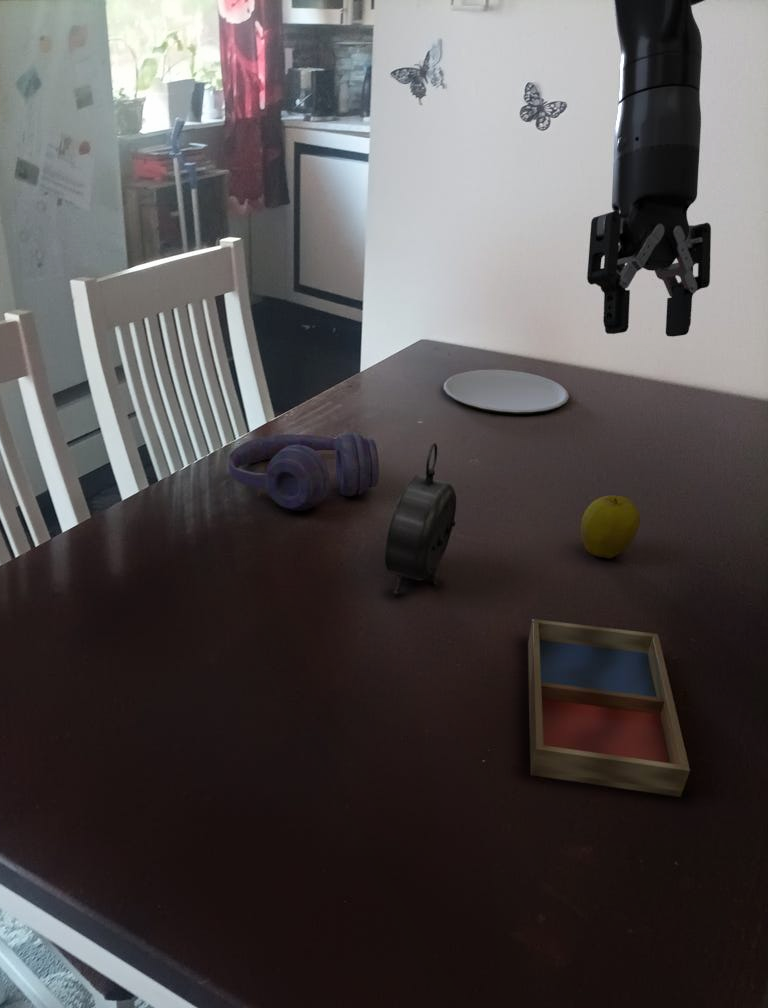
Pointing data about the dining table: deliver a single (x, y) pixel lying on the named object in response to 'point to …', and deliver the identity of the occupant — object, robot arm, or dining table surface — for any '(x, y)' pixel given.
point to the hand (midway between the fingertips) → (647, 334)
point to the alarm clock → (420, 527)
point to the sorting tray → (603, 709)
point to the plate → (506, 391)
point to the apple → (609, 526)
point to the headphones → (306, 467)
